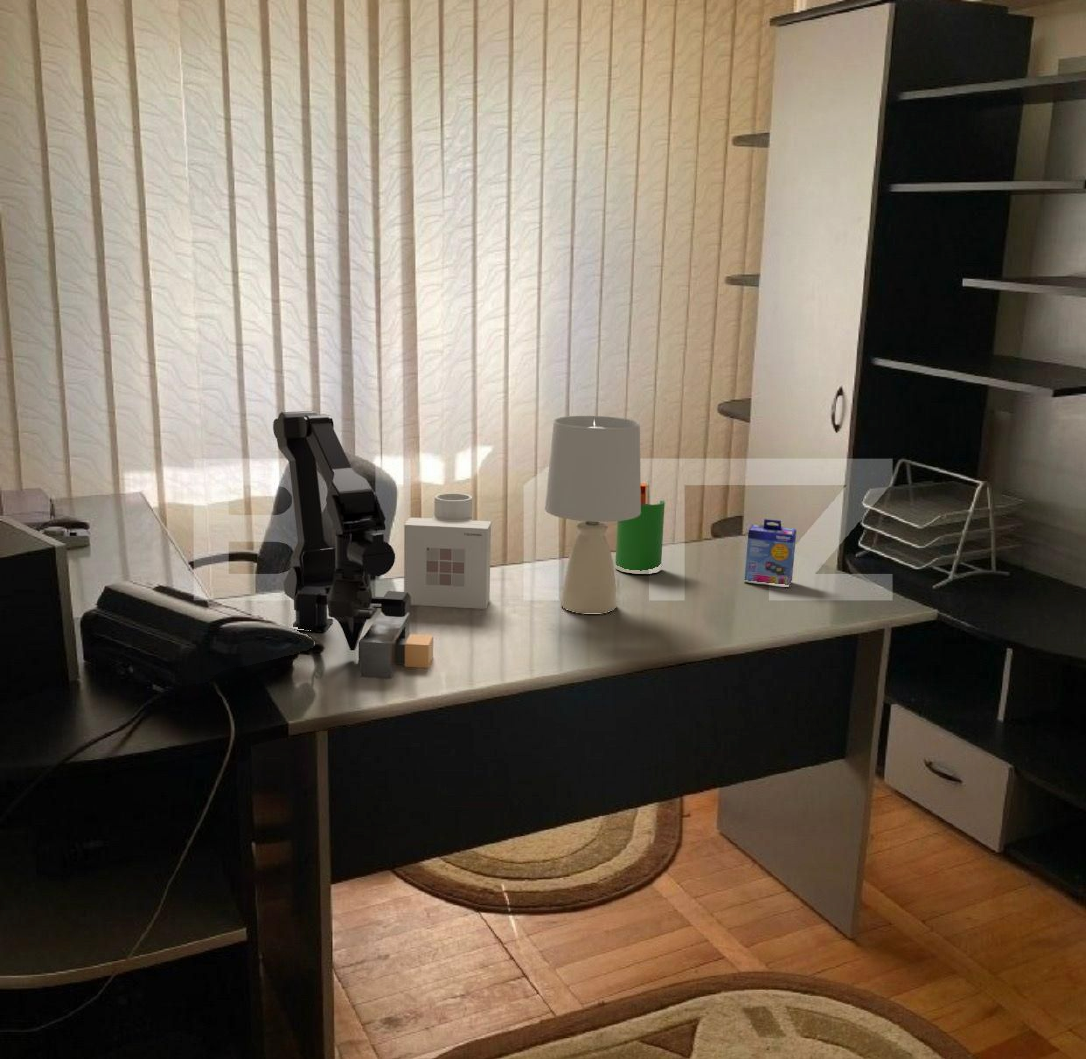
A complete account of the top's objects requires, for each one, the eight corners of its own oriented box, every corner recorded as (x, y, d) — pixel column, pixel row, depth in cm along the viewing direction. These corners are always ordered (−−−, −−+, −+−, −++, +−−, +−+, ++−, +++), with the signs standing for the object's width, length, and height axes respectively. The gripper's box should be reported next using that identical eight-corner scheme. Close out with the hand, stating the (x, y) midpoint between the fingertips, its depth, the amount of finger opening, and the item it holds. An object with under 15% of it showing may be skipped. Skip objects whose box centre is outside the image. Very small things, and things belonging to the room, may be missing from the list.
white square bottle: (403, 605, 221) (403, 505, 216) (420, 578, 239) (421, 486, 234) (485, 609, 220) (488, 509, 215) (496, 582, 238) (498, 490, 233)
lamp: (542, 620, 214) (548, 427, 205) (541, 591, 232) (547, 413, 223) (640, 623, 214) (650, 430, 206) (631, 594, 233) (640, 416, 224)
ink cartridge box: (743, 583, 243) (748, 518, 240) (746, 577, 248) (751, 513, 245) (789, 589, 240) (795, 523, 237) (792, 582, 245) (798, 517, 242)
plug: (363, 653, 193) (363, 631, 192) (433, 657, 193) (433, 635, 192) (357, 664, 189) (357, 641, 188) (428, 667, 188) (428, 645, 187)
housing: (381, 643, 199) (381, 611, 197) (409, 645, 198) (409, 612, 197) (360, 676, 183) (360, 641, 182) (390, 678, 183) (390, 643, 181)
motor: (658, 565, 255) (663, 478, 251) (663, 576, 247) (669, 486, 242) (613, 564, 255) (618, 477, 250) (617, 575, 246) (622, 485, 241)
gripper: (283, 570, 180) (284, 662, 183) (398, 577, 179) (397, 670, 182) (302, 553, 191) (304, 640, 194) (411, 559, 189) (411, 647, 193)
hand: (353, 649), depth 191 cm, fingers closed
